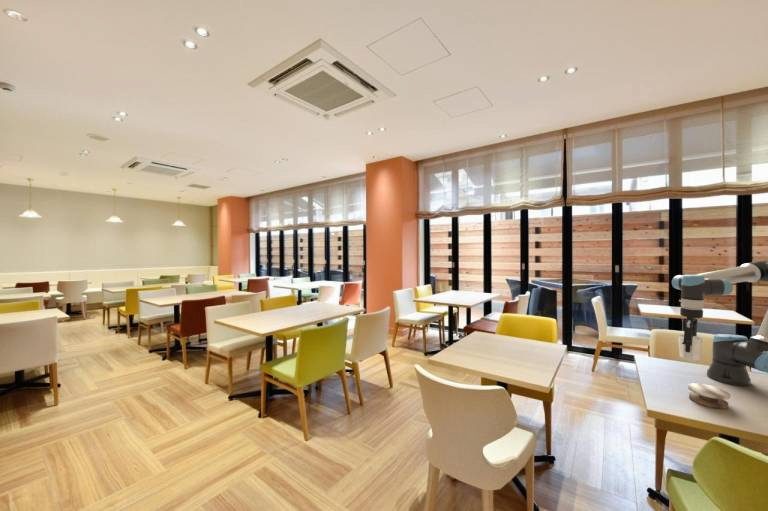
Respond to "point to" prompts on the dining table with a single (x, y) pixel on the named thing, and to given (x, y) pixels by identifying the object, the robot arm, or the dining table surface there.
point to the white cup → (695, 350)
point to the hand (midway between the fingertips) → (689, 356)
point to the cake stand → (708, 396)
